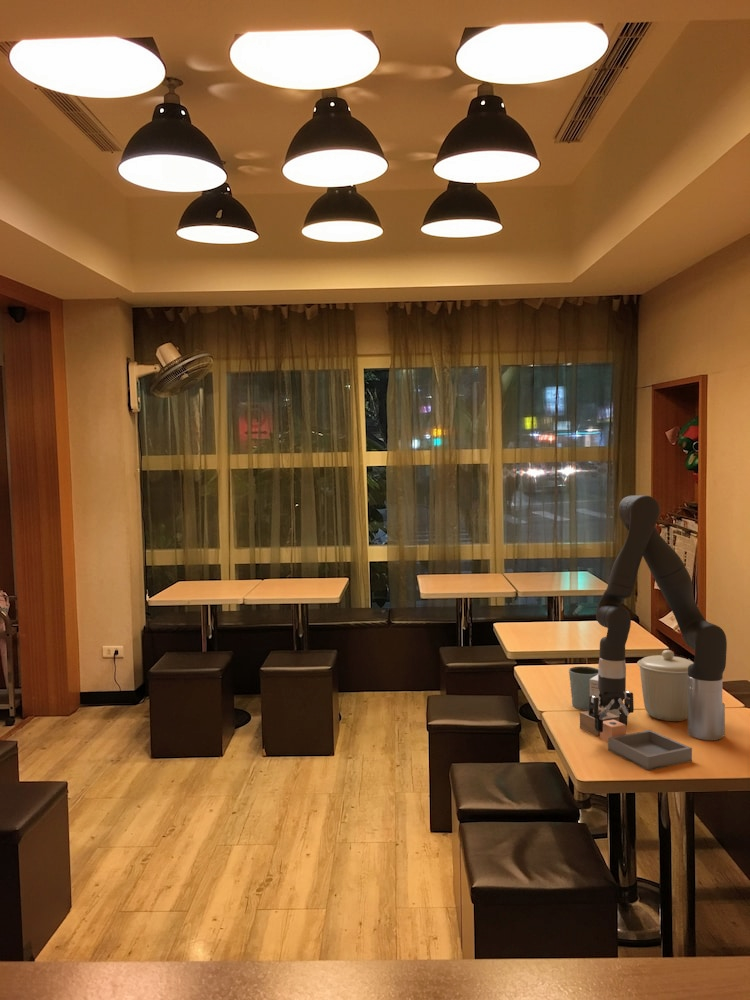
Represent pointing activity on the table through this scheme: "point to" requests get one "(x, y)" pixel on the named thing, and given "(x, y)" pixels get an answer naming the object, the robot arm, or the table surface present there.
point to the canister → (665, 686)
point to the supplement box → (595, 692)
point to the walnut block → (589, 722)
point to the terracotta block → (612, 729)
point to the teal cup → (581, 685)
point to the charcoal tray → (649, 749)
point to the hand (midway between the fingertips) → (611, 729)
